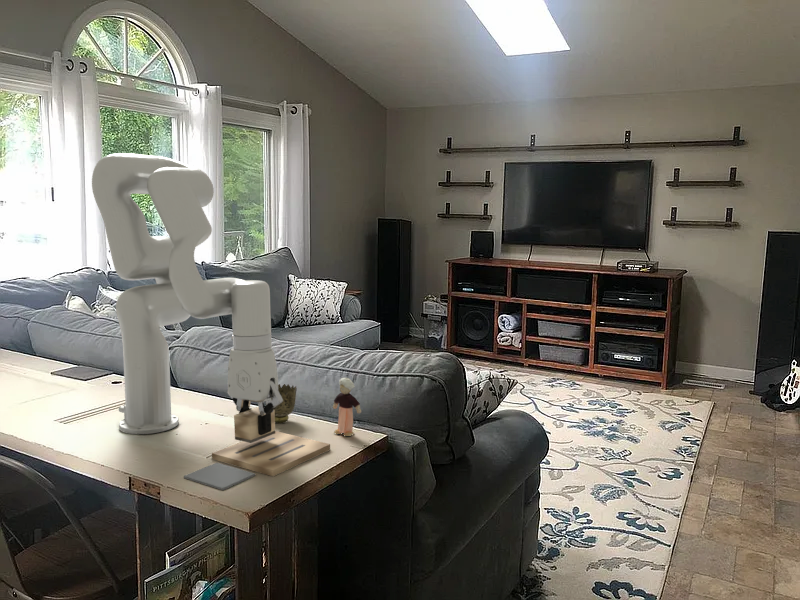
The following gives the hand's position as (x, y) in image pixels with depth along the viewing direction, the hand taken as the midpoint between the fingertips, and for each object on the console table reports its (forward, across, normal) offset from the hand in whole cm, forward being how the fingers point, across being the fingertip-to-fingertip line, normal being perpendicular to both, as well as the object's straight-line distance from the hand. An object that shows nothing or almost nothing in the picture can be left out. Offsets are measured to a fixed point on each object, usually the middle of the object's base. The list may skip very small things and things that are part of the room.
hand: (255, 430), depth 141 cm
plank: (+4, +4, 0) cm, 6 cm away
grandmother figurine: (+5, +9, +18) cm, 21 cm away
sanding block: (+1, 0, 0) cm, 1 cm away
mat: (+4, +4, -14) cm, 15 cm away
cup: (+4, -9, +17) cm, 20 cm away
